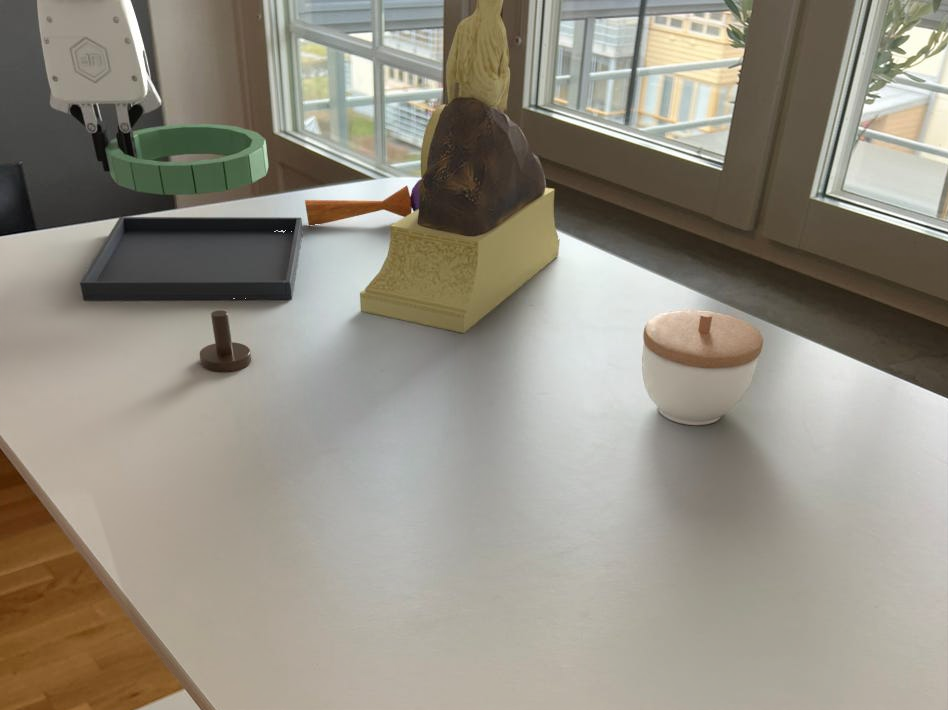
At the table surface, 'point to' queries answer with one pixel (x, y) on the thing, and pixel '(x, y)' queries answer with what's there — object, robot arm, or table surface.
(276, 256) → the tray
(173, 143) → the ring
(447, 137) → the statue on pedestal
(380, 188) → the table surface
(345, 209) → the kendama
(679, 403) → the trinket box
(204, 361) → the peg stand
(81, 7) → the robot arm
